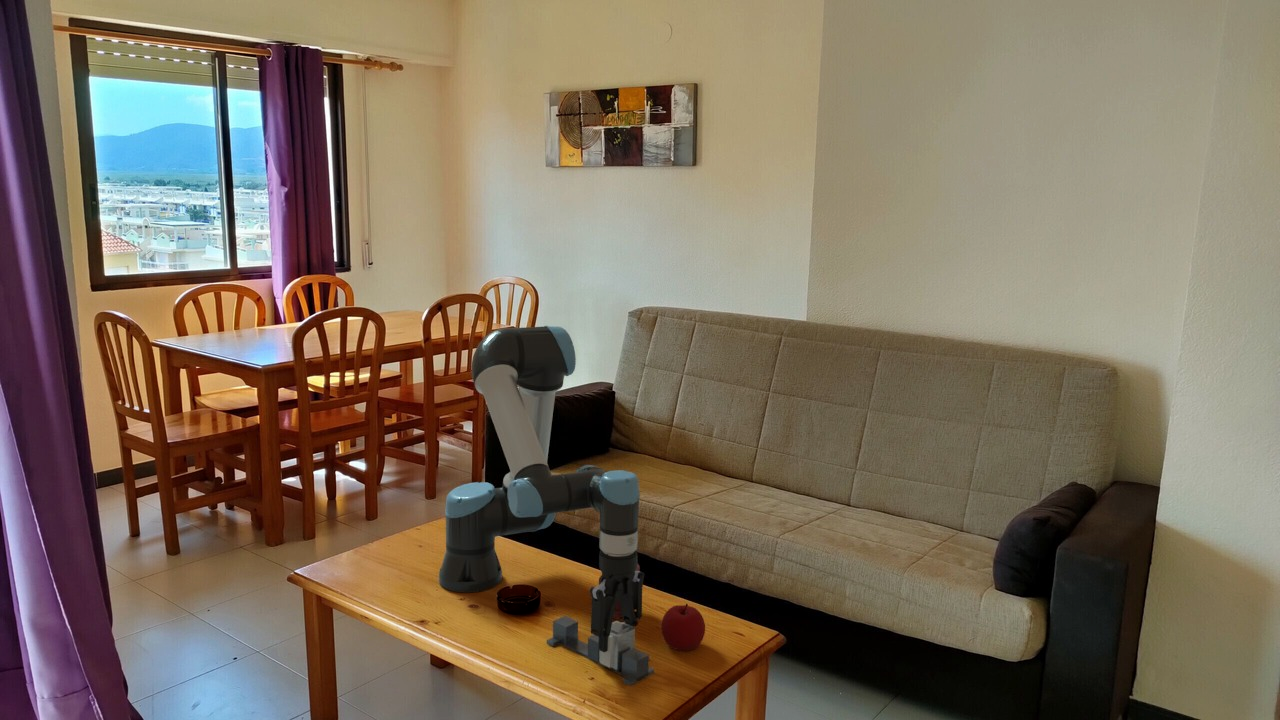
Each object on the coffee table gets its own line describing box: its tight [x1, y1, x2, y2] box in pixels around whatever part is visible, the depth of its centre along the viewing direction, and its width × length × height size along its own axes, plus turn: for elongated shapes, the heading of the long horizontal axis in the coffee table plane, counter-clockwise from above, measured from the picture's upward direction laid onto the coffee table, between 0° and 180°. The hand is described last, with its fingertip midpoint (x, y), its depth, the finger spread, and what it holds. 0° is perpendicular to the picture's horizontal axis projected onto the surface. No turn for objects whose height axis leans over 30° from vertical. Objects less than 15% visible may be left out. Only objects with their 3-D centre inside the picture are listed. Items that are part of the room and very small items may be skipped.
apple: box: [660, 603, 706, 652], centre depth 190 cm, size 9×9×10 cm
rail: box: [546, 615, 655, 687], centre depth 185 cm, size 24×7×4 cm, turn 48°
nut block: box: [599, 620, 636, 670], centre depth 181 cm, size 5×5×7 cm
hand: (615, 659), depth 182 cm, fingers closed on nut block, 5 cm apart
